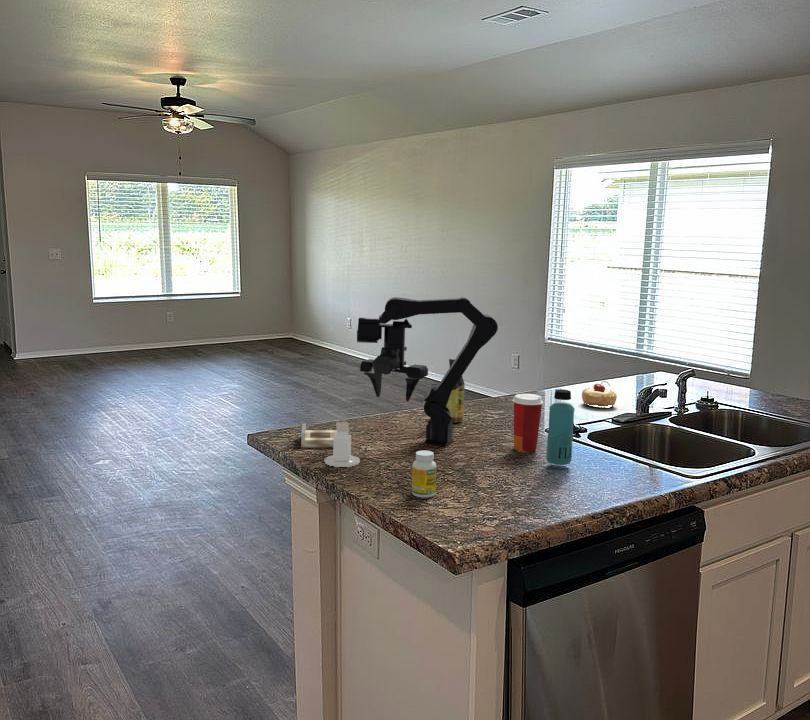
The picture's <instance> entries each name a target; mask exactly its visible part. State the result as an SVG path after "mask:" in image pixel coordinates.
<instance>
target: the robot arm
mask: <svg viewBox="0 0 810 720" xmlns="http://www.w3.org/2000/svg"><path fill="white" fill-rule="evenodd" d="M453 313H454V314H455V313H460V314H462V315H463V316H465V318H467V320H469V321H470V323H472V324H473V325H472V327H471V330H470V332H469V336H468V337H467V340H466V343H465V344H464V345H463V347H462V349H461V350H460V352H459V353H458V355H457V356H456V357H455V358H456V359H455V361H454V362H453V364H452V365H451V367H450V366H449V367H450V368H449V369H448V370H447V372H445V374H444V376H443V377H442V379H441V380H440V382H439V383H438V384H436V385H435V386H434V385H433V384H430V385H429V387H428V390H427V391H426V392H425V393H423V400H422V402H423V403H422V405H423V411H424V413H425V415H426V416H427V417H429V419H428V420H427V424H426V425H425V440H424V443H426V444H430V445H438V446H444V447H445V446H447V445H450V444H451V443H453V442H454V441H455V439H454V438H453V423H452V421H451V419H452V417H451V413H450V410H449V409H448V408H447V407H446V405H447V403H448V400H449V397H450V394H451V392H452V390H453V388H454V387H455V385H456V384H457V382H458V381H459V379H460V378H461V376H462V377H463V375H464V373H465V372H466V370H467V369H468V367H469V366H470V364H471V363H472V361H473V360H474V358H475V357H476V355H477V354H478V352H479V351H480V350H481V349H482V348H483V347H484V346H485V345H486V344H487V343H488V342H490V340H491V339H492V338H494V336H495V335H496V334H497V332H498V329H499V327H498V322H497V321H496V320H495V319H494V318H493V317H492V315H489V314H484V313H482V312H481V311H480V310H479V309H478V308H477V307H476V306H474V304H472V303H471V301H470V300H469V298H467V297H463V296H462V297H459V298H457V297H456V298H441V299H440V298H439V299H421V300H419V299H417V300H416V299H411V298H405V297H398V296H397V297H396V296H395V297H391V298H389V299H388V300H387V301H386V303H385V306H384V311H383V312H382V313H381V314H380V315H379V317H378V318H368V317H367V318H366V317H359V318H358V320H357V321H358V322H357V330H356V342H357V343H364V344H366V343H367V344H378V343H379V340H382V339H383V347H381V350H380V355H378V356H376V357H375V359H373V358H369V359H365V360H362V361H361V362H360V364H359V372H362V373H363V375H364V376H365V375H366V376H367V377H368V378H369V379H370V381H371V384H372V386H373V390H374V392H375V396H376V397H377V398H380V396H381V392H382V378H383V375H386V376H387V375H389V374H391V373H401V374H406V376H407V377H405V379H404V380H405V382H406V389H405V390H406V391H405V401H406V402H409V401H410V400H411V397H412V395H413V394H414V393H413V392H414V391H415V389H416V386H417V385H418V383H419V381H420V380H422V379H424V378H425V377H428V376H429V368H428V367H427V365H424V364H423V365H421V364H416V363H415V364H412V365H409V366H407V361H406V360H405V352H407V350H408V349H407V346H406V345H405V344H406V343H405V342H406V329H412V327H413V325H412V323H410V321H409V320H408V318H411V317H415V316H418V315H436V314H437V315H438V314H453ZM403 319H404V320H403ZM402 320H403V321H402ZM390 321H392V323H391V324H389V322H390ZM382 336H383V337H382Z"/></svg>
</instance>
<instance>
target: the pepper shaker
mask: <svg viewBox="0 0 810 720" xmlns="http://www.w3.org/2000/svg"><path fill="white" fill-rule="evenodd" d="M335 426H336V427H335V428H336V429H335V430H336V431H337V433H336V435H335V436H334V440H333V447H332V448H333V453H332V455H333V459H334V461H341V462H347V461H349V459H350V457H351V455H352V435H351V434H350V433H349V431H350V423H349V422H347V421H338V422H336V424H335Z"/></svg>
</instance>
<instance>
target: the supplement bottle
mask: <svg viewBox="0 0 810 720" xmlns="http://www.w3.org/2000/svg"><path fill="white" fill-rule="evenodd" d="M434 458H435V455H434V452H433V451H431V450H418V451H416V452H415V460H414V461H413V463H412V469H411V470H412V472H411V473H412V475H411V476H412V477H411V494H412V496H415V497H418V498H423V499H424V498H426V499H427V498H432V497H434V496H435V494H436V490H437V489H436V486H437V485H436V484H437V481H436V480H437V463H436V462H435V461H434Z"/></svg>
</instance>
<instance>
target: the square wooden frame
mask: <svg viewBox="0 0 810 720" xmlns="http://www.w3.org/2000/svg"><path fill="white" fill-rule="evenodd" d="M336 433H337V431H336V429H335V430H334V429H331V430H330V429H326V430H325V429H318V430H317V429H316V430H312V429H310V430H309V429H307V423H302V424H301V434H300V435H301V437H300V439H301V440H300V441H301V444H300V445H301V446H300V447H301V448H333V440H334V436H335V435H336Z"/></svg>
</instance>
